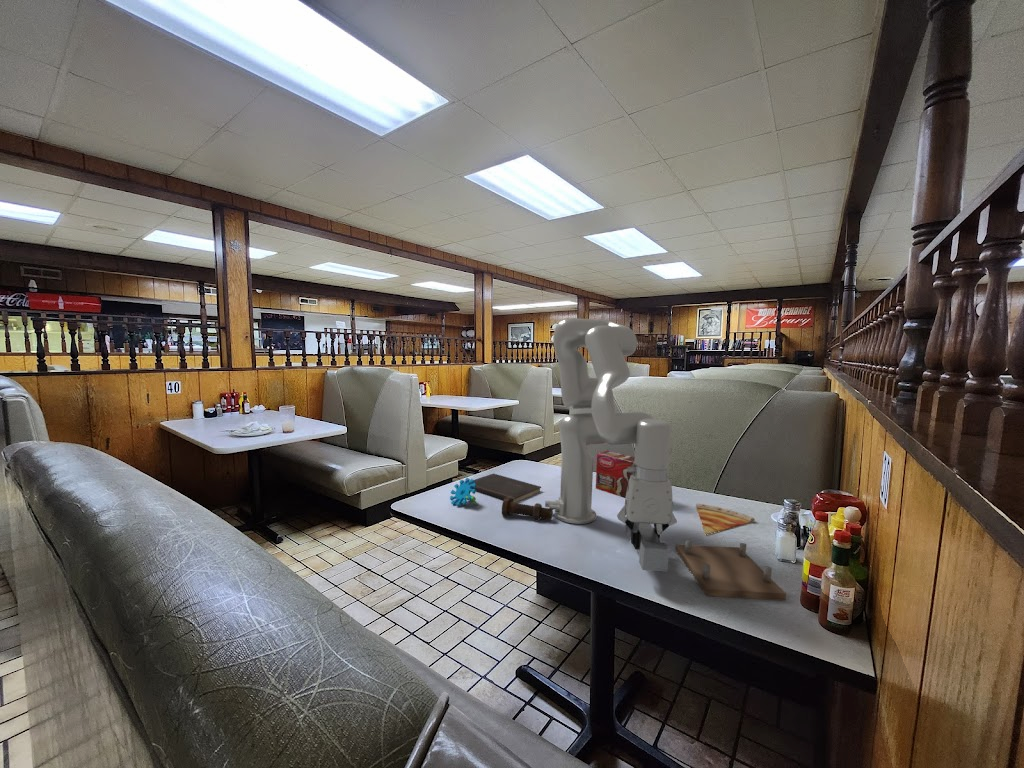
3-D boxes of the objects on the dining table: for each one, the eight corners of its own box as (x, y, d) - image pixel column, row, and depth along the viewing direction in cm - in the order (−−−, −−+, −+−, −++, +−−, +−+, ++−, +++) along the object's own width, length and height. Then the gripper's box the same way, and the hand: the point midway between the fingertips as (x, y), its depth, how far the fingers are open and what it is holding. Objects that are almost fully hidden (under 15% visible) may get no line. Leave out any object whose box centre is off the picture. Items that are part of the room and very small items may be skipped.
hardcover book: (493, 479, 163) (493, 473, 163) (541, 493, 149) (541, 486, 149) (463, 489, 151) (463, 483, 151) (512, 505, 137) (512, 498, 136)
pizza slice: (661, 516, 130) (662, 510, 130) (709, 505, 140) (709, 499, 140) (705, 537, 116) (705, 530, 116) (754, 523, 127) (755, 517, 126)
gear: (443, 495, 138) (464, 472, 141) (453, 504, 141) (473, 481, 144) (460, 510, 130) (481, 485, 132) (470, 520, 133) (491, 495, 136)
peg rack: (706, 595, 88) (708, 575, 87) (675, 549, 108) (676, 533, 107) (785, 600, 87) (787, 579, 86) (739, 553, 107) (740, 536, 106)
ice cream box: (595, 488, 153) (597, 453, 152) (606, 485, 158) (607, 450, 156) (644, 504, 139) (646, 465, 137) (654, 500, 143) (656, 462, 142)
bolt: (550, 527, 124) (502, 519, 128) (553, 513, 128) (506, 506, 132) (550, 515, 120) (500, 506, 124) (553, 501, 124) (505, 493, 128)
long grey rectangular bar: (642, 569, 90) (644, 548, 89) (625, 530, 108) (626, 512, 107) (667, 571, 90) (669, 549, 89) (645, 531, 108) (647, 513, 107)
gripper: (617, 476, 93) (611, 553, 95) (693, 480, 92) (685, 558, 94) (611, 465, 101) (606, 537, 103) (681, 469, 100) (674, 541, 102)
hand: (644, 546), depth 99 cm, fingers closed on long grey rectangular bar, 3 cm apart
